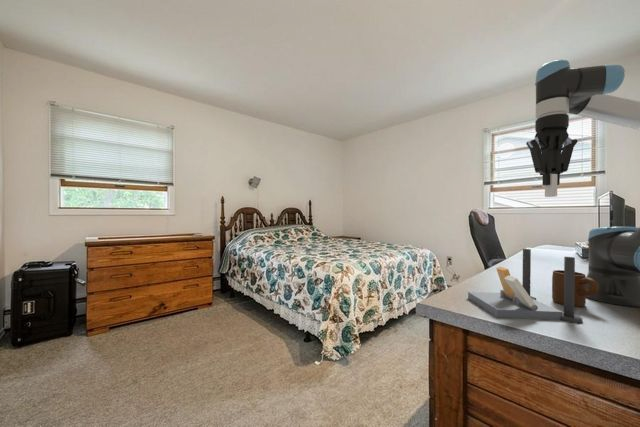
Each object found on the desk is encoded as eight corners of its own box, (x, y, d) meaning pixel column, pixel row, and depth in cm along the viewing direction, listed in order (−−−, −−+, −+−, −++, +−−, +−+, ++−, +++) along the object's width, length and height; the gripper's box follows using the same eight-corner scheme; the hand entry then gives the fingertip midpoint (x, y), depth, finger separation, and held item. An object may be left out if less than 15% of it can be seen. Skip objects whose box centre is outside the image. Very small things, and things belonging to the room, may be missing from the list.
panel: (520, 299, 85) (520, 287, 85) (562, 319, 69) (562, 304, 69) (468, 298, 86) (468, 285, 86) (497, 317, 70) (497, 301, 70)
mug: (610, 313, 75) (610, 279, 75) (584, 313, 74) (584, 279, 74) (567, 299, 87) (568, 270, 87) (545, 299, 86) (545, 270, 86)
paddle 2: (529, 304, 73) (508, 275, 73) (539, 308, 69) (517, 278, 70) (524, 307, 73) (503, 278, 74) (533, 312, 70) (512, 281, 70)
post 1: (529, 297, 88) (529, 248, 88) (540, 302, 83) (540, 250, 83) (512, 296, 88) (513, 248, 88) (523, 301, 83) (523, 250, 83)
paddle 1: (511, 296, 81) (501, 266, 81) (519, 300, 77) (508, 269, 77) (505, 298, 81) (495, 268, 81) (513, 302, 77) (503, 270, 77)
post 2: (571, 315, 72) (571, 256, 72) (588, 323, 67) (588, 259, 67) (551, 315, 72) (551, 255, 72) (566, 322, 67) (567, 258, 67)
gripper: (564, 121, 83) (563, 197, 83) (520, 121, 84) (519, 197, 84) (586, 111, 76) (585, 195, 76) (537, 112, 77) (536, 195, 77)
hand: (550, 196), depth 80 cm, fingers closed
